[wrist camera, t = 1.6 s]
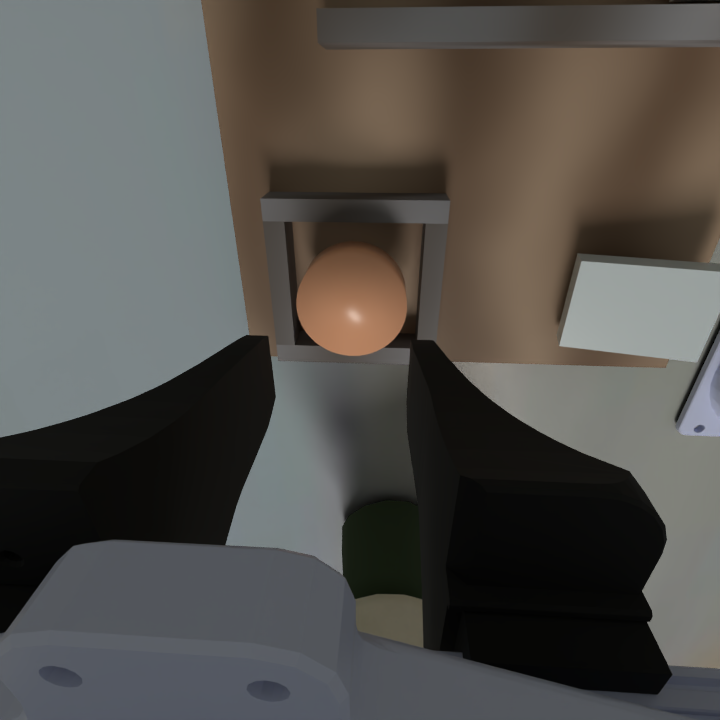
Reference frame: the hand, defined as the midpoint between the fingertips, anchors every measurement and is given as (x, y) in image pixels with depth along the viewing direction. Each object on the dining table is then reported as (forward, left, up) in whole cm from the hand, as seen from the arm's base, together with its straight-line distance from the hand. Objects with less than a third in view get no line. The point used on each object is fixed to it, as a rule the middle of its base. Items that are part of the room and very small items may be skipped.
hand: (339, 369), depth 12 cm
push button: (0, 0, -6) cm, 6 cm away
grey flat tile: (-11, 0, -6) cm, 13 cm away
